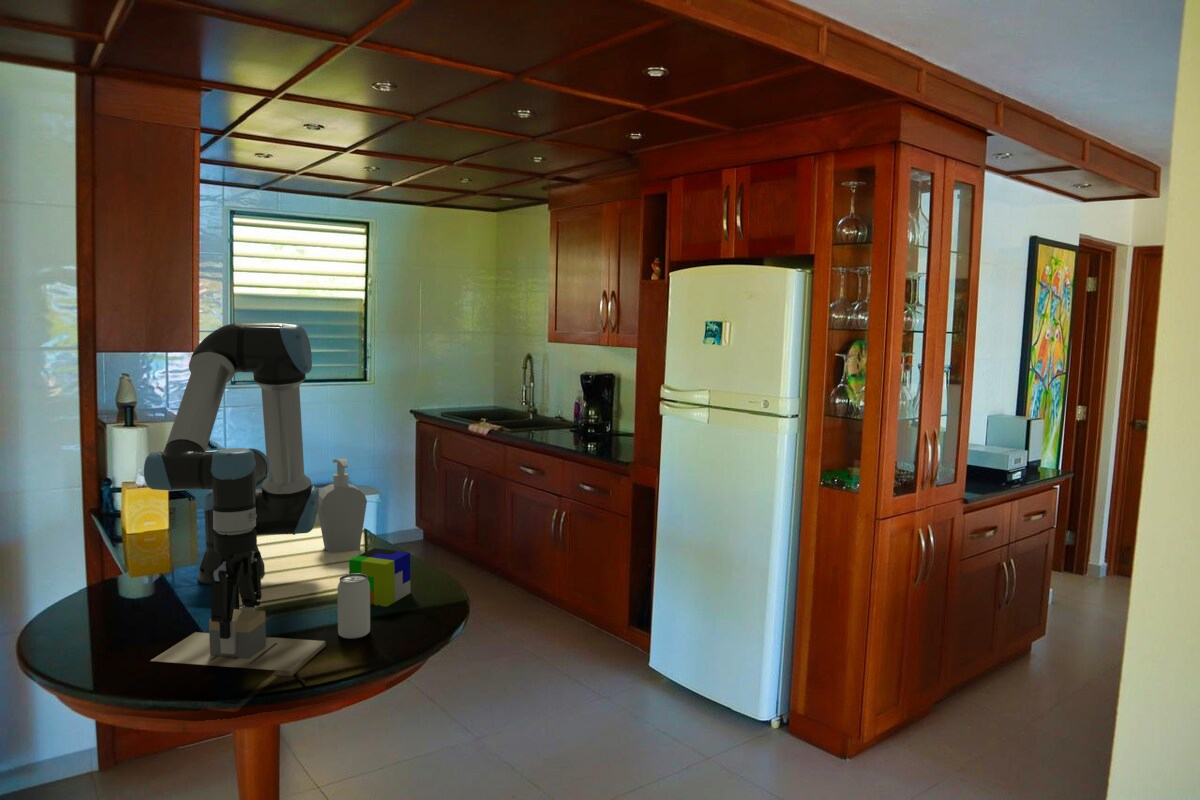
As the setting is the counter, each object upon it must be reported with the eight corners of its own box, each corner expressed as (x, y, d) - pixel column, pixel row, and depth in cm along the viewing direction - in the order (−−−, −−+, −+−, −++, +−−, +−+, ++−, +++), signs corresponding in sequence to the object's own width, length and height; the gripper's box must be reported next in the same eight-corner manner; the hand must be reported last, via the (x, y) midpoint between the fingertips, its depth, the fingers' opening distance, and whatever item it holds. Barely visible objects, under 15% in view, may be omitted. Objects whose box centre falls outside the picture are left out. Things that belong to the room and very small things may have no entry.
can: (342, 627, 173) (341, 573, 172) (373, 627, 174) (372, 572, 172) (334, 639, 167) (333, 583, 165) (366, 639, 167) (366, 582, 166)
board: (150, 665, 153) (149, 660, 153) (195, 636, 167) (195, 632, 167) (291, 676, 150) (291, 671, 150) (325, 645, 164) (325, 641, 163)
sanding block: (210, 655, 156) (208, 619, 155) (228, 642, 161) (227, 608, 161) (249, 658, 155) (248, 622, 154) (266, 645, 160) (265, 611, 160)
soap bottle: (323, 556, 222) (322, 463, 219) (316, 547, 231) (314, 457, 228) (369, 551, 228) (368, 460, 226) (360, 542, 237) (359, 454, 234)
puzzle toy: (410, 593, 195) (410, 552, 194) (386, 607, 186) (386, 564, 185) (374, 587, 199) (374, 548, 198) (349, 601, 189) (349, 559, 188)
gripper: (224, 544, 146) (228, 668, 148) (279, 518, 164) (281, 628, 167) (185, 542, 147) (190, 665, 149) (244, 516, 165) (247, 626, 168)
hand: (238, 645), depth 158 cm, fingers closed on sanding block, 6 cm apart
